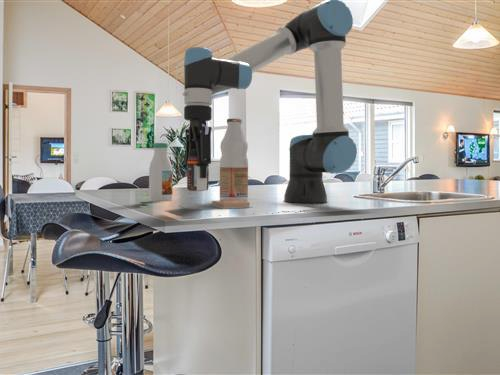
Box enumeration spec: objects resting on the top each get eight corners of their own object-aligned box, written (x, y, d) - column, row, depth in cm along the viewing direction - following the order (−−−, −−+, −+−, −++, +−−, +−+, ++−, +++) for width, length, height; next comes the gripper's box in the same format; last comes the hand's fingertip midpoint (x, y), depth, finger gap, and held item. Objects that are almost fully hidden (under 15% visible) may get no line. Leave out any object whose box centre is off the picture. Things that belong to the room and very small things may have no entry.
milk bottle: (153, 203, 144) (153, 142, 143) (146, 202, 150) (145, 143, 149) (175, 203, 148) (175, 143, 147) (167, 201, 154) (167, 143, 153)
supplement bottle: (184, 189, 125) (184, 149, 124) (204, 189, 127) (204, 150, 126) (190, 191, 119) (190, 149, 119) (211, 190, 122) (211, 149, 121)
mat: (233, 206, 136) (233, 203, 136) (253, 211, 125) (253, 207, 125) (177, 209, 128) (177, 205, 128) (193, 214, 116) (193, 210, 116)
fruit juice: (216, 204, 144) (216, 117, 142) (224, 202, 153) (224, 120, 152) (244, 205, 142) (244, 117, 140) (250, 202, 151) (251, 120, 149)
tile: (236, 199, 132) (249, 202, 125) (236, 205, 132) (249, 207, 125) (212, 200, 128) (223, 203, 121) (212, 206, 128) (223, 208, 121)
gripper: (173, 108, 128) (173, 188, 130) (197, 100, 112) (197, 192, 113) (198, 110, 132) (197, 187, 133) (224, 102, 115) (223, 191, 116)
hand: (197, 189), depth 123 cm, fingers closed on supplement bottle, 6 cm apart
